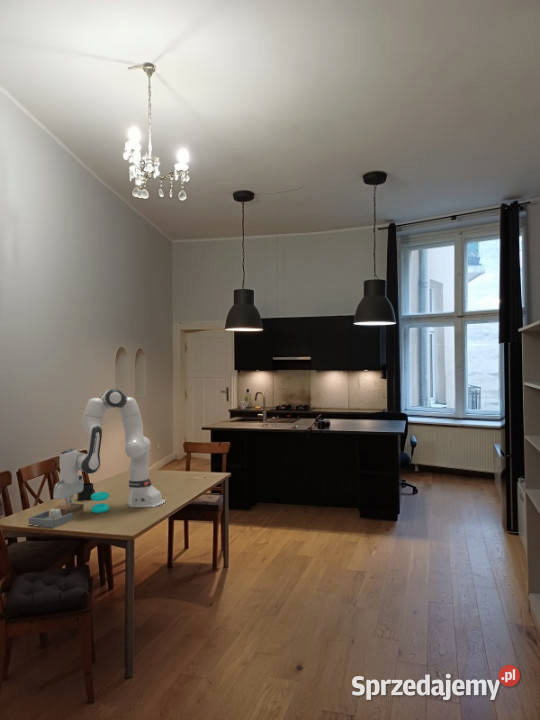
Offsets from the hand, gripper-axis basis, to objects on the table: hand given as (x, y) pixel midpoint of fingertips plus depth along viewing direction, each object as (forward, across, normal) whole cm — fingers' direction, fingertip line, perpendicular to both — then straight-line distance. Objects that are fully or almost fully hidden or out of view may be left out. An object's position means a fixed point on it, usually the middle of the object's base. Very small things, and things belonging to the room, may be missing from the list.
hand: (68, 503), depth 290 cm
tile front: (+2, -9, 0) cm, 10 cm away
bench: (+6, -1, 0) cm, 6 cm away
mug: (+6, +31, +13) cm, 34 cm away
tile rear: (+1, -4, 0) cm, 4 cm away
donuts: (+6, +11, -12) cm, 18 cm away
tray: (+6, -14, 0) cm, 16 cm away
